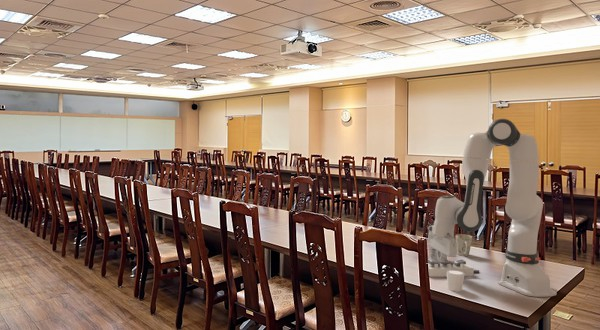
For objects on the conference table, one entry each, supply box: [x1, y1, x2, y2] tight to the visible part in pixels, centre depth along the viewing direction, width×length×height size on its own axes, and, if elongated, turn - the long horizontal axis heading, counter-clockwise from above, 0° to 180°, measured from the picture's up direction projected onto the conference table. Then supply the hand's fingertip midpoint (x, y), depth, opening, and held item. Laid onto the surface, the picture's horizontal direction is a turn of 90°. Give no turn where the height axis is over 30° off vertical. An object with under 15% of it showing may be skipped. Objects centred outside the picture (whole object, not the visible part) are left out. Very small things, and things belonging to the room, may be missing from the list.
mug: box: [455, 233, 473, 257], centre depth 232 cm, size 8×13×10 cm, turn 174°
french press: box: [428, 246, 449, 263], centre depth 221 cm, size 10×12×25 cm
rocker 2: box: [452, 259, 467, 266], centre depth 200 cm, size 3×5×1 cm
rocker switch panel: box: [427, 263, 480, 278], centre depth 200 cm, size 8×27×5 cm, turn 99°
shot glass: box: [446, 270, 465, 293], centre depth 178 cm, size 7×7×7 cm
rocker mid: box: [440, 260, 454, 266], centre depth 199 cm, size 3×5×1 cm
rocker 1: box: [427, 259, 440, 266], centre depth 198 cm, size 3×5×1 cm
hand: (440, 261), depth 199 cm, fingers closed
